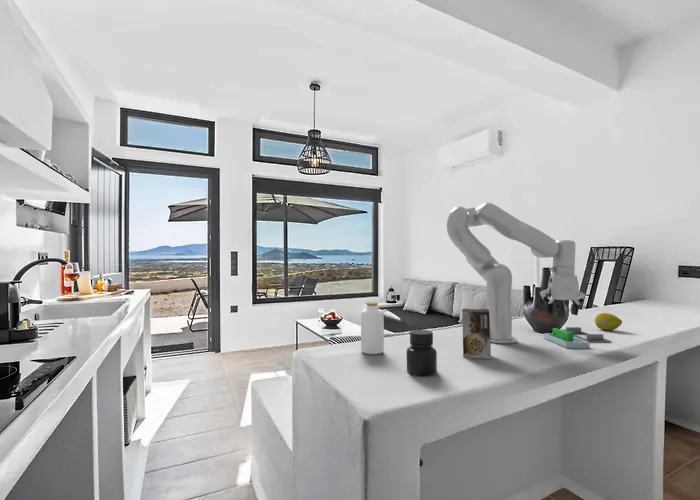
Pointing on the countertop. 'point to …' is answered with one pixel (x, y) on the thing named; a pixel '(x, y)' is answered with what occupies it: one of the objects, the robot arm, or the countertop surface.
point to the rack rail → (587, 335)
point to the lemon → (607, 321)
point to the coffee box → (476, 333)
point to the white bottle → (372, 329)
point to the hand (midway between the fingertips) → (561, 314)
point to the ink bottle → (421, 354)
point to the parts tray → (575, 344)
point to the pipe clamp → (563, 334)
